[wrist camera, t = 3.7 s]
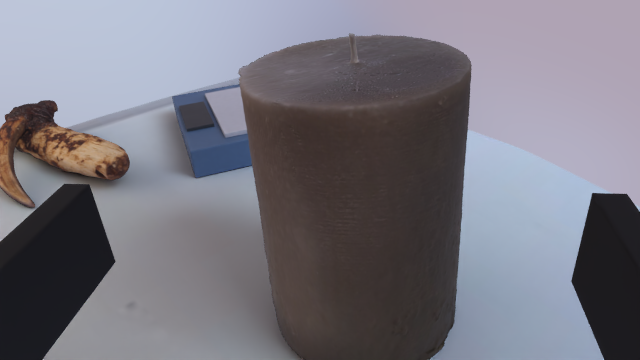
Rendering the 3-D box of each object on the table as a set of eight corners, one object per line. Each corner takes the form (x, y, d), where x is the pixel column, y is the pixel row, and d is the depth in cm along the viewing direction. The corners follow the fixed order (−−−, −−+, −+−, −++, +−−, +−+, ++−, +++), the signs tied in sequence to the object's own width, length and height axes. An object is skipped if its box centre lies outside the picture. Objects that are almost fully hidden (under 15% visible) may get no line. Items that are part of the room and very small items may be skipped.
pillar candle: (475, 375, 24) (514, 59, 16) (266, 385, 24) (210, 80, 17) (434, 246, 32) (447, -1, 25) (280, 255, 32) (246, 14, 25)
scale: (311, 92, 58) (309, 67, 56) (362, 140, 46) (361, 110, 45) (177, 118, 54) (171, 92, 52) (195, 178, 42) (188, 147, 41)
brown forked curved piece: (-42, 173, 47) (55, 230, 37) (-67, 126, 44) (29, 174, 34) (54, 132, 53) (160, 171, 43) (36, 89, 51) (144, 120, 40)
